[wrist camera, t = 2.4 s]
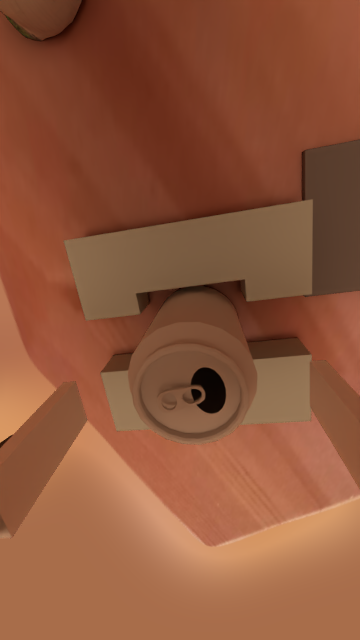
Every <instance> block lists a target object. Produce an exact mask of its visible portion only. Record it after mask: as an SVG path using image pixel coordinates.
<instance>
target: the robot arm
mask: <svg viewBox="0 0 360 640" xmlns="http://www.w3.org/2000/svg"><path fill="white" fill-rule="evenodd" d="M310 407H311V409H312V411H313V412H314V414H315V416H316V417H317V419H318V421H319V422H320V424H321V426H322V427H323V429H324V431H325V432H326V434H327V436H328V437H329V439H330V441H331V442H332V444H333V445H334V447H335V449H336V450H337V452H338V454H339V455H340V457H341V459H342V460H343V462H344V464H345V465H346V467H347V469H348V470H349V472H350V474H351V475H352V477H353V479H354V480H355V482H356V484H357V485H358V487H359V489H360V396H359V395H358V394H357V393H356V392H355V391H354V390H353V389H352V388H351V387H350V386H349V384H348V383H347V382H346V381H345V380H344V379H343V378H342V377H341V376H340V375H339V374H338V373H337V372H336V371H335V370H334V369H333V368H332V366H331V365H330V364H329V363H328V362H327V361H326V360H319V361H310ZM86 422H87V417H86V414H85V410H84V407H83V404H82V401H81V397H80V394H79V391H78V388H77V384H76V381H73V382H63V383H62V385H61V386H60V387H59V388H58V389H57V390H56V391H55V392H54V393H53V394H52V395H51V396H50V397H49V398H48V399H47V400H46V401H45V402H44V403H43V404H42V405H41V406H40V408H38V409H37V411H36V412H35V413H34V414H33V415H32V416H31V417H30V418H29V419H28V420H27V421H26V422H25V423H24V424H23V425H22V426H21V427H20V428H19V429H18V430H17V432H15V433H14V434H13V435H11V436H10V437H8V438H7V439H5V440H4V441H2V442H1V443H0V538H12V537H13V536H14V534H15V533H16V531H17V530H18V528H19V526H20V525H21V523H22V522H23V520H24V519H25V517H26V516H27V514H28V512H29V511H30V509H31V508H32V506H33V505H34V503H35V501H36V500H37V498H38V497H39V495H40V494H41V492H42V490H43V489H44V487H45V486H46V484H47V482H48V481H49V479H50V478H51V476H52V475H53V473H54V472H55V470H56V469H57V467H58V465H59V463H60V462H61V461H62V459H63V458H64V456H65V454H66V453H67V451H68V450H69V448H70V447H71V445H72V443H73V442H74V440H75V439H76V437H77V436H78V434H79V433H80V431H81V429H82V428H83V426H84V425H85V423H86Z"/></svg>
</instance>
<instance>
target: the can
mask: <svg viewBox="0 0 360 640" xmlns="http://www.w3.org/2000/svg"><path fill="white" fill-rule="evenodd" d="M128 380H129V387H130V392H131V394H132V398H133V405H134V407H135V409H136V411H137V413H138V415H139V417H140V419H141V420H142V421H143V422H144V423H145V424H146V425H147V426H148V427H149V428H150V429H151V430H152V431H154V432H155V433H157V434H159V435H160V436H162V437H164V438H165V439H168V440H171V441H174V442H178V443H181V444H197V445H201V444H206V443H210V442H215V441H218V440H220V439H222V438H223V437H225V436H227V435H229V434H231V433H232V432H233V431H234V430H235V429H236V428H237V427H238V426H239V425H240V424H241V423H242V422H243V420H244V418H245V416H246V413H247V411H248V410H249V408H250V406H251V404H252V402H253V399H254V397H255V395H256V393H257V371H256V368H255V365H254V362H253V359H252V356H251V353H250V350H249V347H248V344H247V342H246V339H245V336H244V333H243V330H242V327H241V324H240V322H239V319H238V316H237V313H236V310H235V307H234V306H233V305H232V303H231V302H230V301H229V299H228V298H227V297H226V296H224V295H223V294H221V293H220V292H218V291H217V290H215V289H211V288H208V287H204V286H189V287H186V288H183V289H181V290H178V291H176V292H175V293H173V294H172V295H171V296H170V297H168V298H167V299H166V301H165V302H164V304H163V305H162V307H161V308H160V310H159V311H158V313H157V315H156V316H155V318H154V320H153V321H152V323H151V325H150V326H149V328H148V330H147V331H146V333H145V335H144V336H143V338H142V340H141V341H140V343H139V345H138V346H137V348H136V350H135V351H134V353H133V355H132V356H131V361H130V365H129V370H128Z"/></svg>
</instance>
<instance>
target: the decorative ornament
mask: <svg viewBox="0 0 360 640" xmlns="http://www.w3.org/2000/svg"><path fill="white" fill-rule="evenodd" d="M81 1H82V0H0V11H1V12H3V13H4V15H5V16H6V17H7V19H8V20H9V21H10V22H11V24H12V25H13V26H14V27H15V28H16V29H17V30H18V31H19V32H20V33H21V34H22V35H23V36H25V37H26V38H30V39H34V40H39V41H42V40H44V39H45V38H48V37H52V36H55V35H57V34H59V33H60V32H62V31H63V30H64V29H65V28H66V27H67V26H68V25H69V24H70V23H72V22H73V19H74V17H75V15H76V13H77V11H78V8H79V6H80V4H81Z"/></svg>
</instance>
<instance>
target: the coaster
mask: <svg viewBox="0 0 360 640" xmlns="http://www.w3.org/2000/svg"><path fill="white" fill-rule="evenodd" d="M302 181H303V201H305V200H311V199H313V234H312V294H309V295H303V296H305V297H308V296H317V295H326V294H334V293H343V292H351V291H360V140H356V141H350V142H345V143H340V144H335V145H330V146H324V147H319V148H314V149H309V150H305V151H304V152H302Z"/></svg>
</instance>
